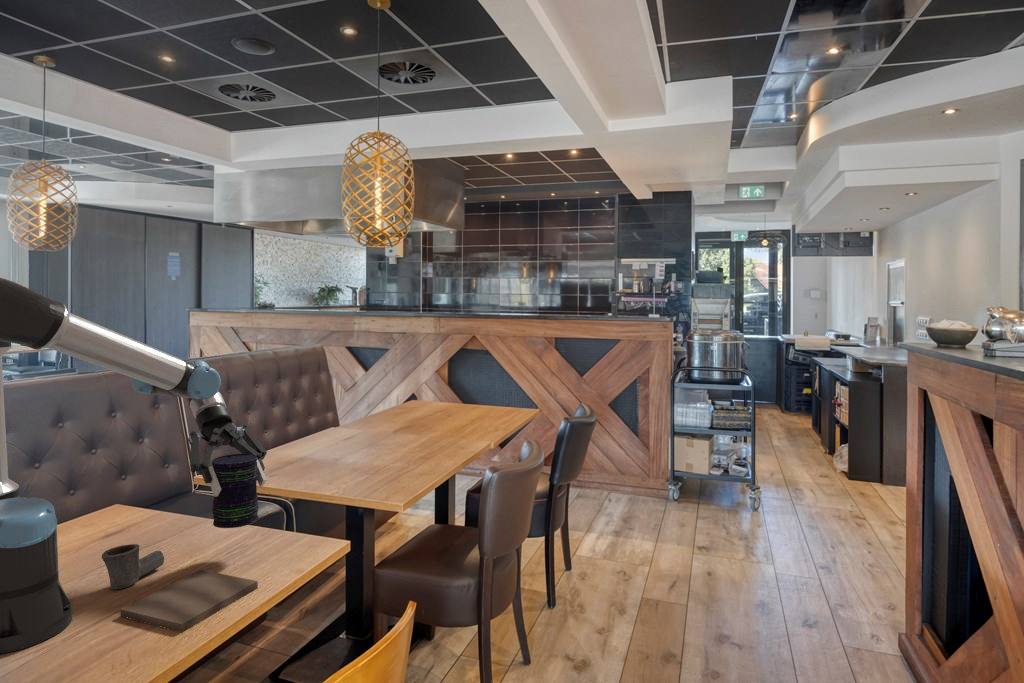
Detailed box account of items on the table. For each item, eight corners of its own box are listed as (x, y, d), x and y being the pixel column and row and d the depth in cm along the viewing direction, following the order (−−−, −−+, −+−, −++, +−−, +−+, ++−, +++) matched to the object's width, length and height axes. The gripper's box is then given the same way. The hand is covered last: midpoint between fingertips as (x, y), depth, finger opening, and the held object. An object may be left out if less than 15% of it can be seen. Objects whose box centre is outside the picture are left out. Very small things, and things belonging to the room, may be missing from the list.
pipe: (169, 569, 132) (168, 535, 132) (116, 596, 120) (114, 558, 120) (148, 566, 134) (147, 532, 133) (94, 592, 122) (92, 554, 121)
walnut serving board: (182, 632, 106) (181, 624, 106) (120, 616, 112) (120, 609, 112) (257, 588, 123) (257, 581, 123) (200, 576, 128) (200, 569, 128)
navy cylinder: (266, 520, 139) (265, 458, 139) (223, 531, 132) (222, 466, 131) (247, 511, 146) (246, 451, 145) (205, 521, 138) (204, 458, 138)
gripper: (251, 417, 156) (281, 486, 147) (157, 429, 139) (185, 508, 130) (260, 399, 153) (292, 469, 143) (165, 409, 136) (194, 489, 126)
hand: (241, 488), depth 136 cm, fingers closed on navy cylinder, 10 cm apart
